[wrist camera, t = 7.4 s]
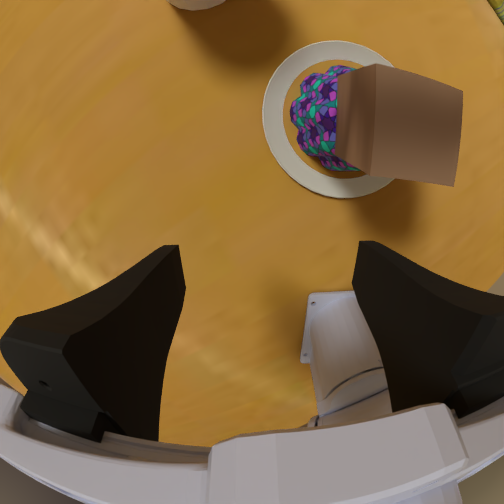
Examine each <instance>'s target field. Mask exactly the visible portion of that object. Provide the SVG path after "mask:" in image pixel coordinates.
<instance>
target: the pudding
mask: <svg viewBox="0 0 504 504" xmlns="http://www.w3.org/2000/svg"><path fill="white" fill-rule="evenodd" d="M335 59H341V60H349V61H352V62H356V63H359V64H361V65H363V66H369V65H372V64H375V63H377V64H382V65H386V66H390V67H393V68H394V66H393V65H392V64H391V63H390V62H389V61H387V60H386V59H385V58H383V57H382V56H381V55H379V54H378V53H376V52H374V51H372V50H371V49H369V48H367V47H364V46H361V45H358V44H355V43H352V42H345V41H322V42H318V43H314V44H310V45H308V46H305V47H303V48H301V49H299V50H297V51H296V52H294V53H293V54H291V55H290V56H289V57H287V58H286V59H285V60H284V61H283V62H282V63H281V64H280V66H279V67H278V68H277V69H276V71H275V72H274V74H273V76H272V77H271V79H270V81H269V83H268V86H267V89H266V92H265V94H264V100H263V107H262V117H263V127H264V132H265V136H266V140H267V142H268V144H269V147H270V149H271V152H272V153H273V155H274V157H275V158H276V160H277V161H278V163H279V165H280V166H281V167H282V168H283V169H284V170H285V171H286V172H287V174H288V175H289V176H291V177H292V178H293V179H294V180H296V181H297V182H298V183H299V184H301V185H302V186H304V187H306V188H308V189H310V190H311V191H314V192H316V193H319V194H322V195H325V196H330V197H336V198H354V197H360V196H365V195H368V194H370V193H373V192H376V191H378V190H379V189H381V188H383V187H385V186H386V185H387V184H389V183H390V182H391V181H392V180H394V179H395V178H386V177H377V176H369V175H368V174H367V175H364V176H361V177H357V178H351V179H339V178H334V177H329V176H326V175H324V174H321V173H319V172H317V171H315V170H314V169H312V168H310V167H309V166H308V165H307V164H305V163H304V162H303V161H302V160H301V159H300V158H299V157H298V155H297V154H296V153H295V152H294V150H293V148H292V147H291V145H290V144H289V141H288V139H287V136H286V134H285V130H284V125H283V105H284V99H285V97H286V94H287V91H288V89H289V87H290V86H291V84H292V82H293V81H294V80H295V78H296V77H297V76H298V75H299V74H300V73H301V72H303V71H304V70H305V69H307V68H308V67H310V66H312V65H314V64H316V63H318V62H322V61H326V60H335ZM353 70H356V69H354V68H350V67H346V66H342V65H338V66H332V67H330V68H329V70H328V71H327V72H326V73H325V74H319V73H313V74H311V75H309V76H307V77H306V78H305V79H304V81H303V82H302V84H301V85H300V88H301V96H300V97H299V98H297V99H296V100H295V101H293V102H292V105H291V109H290V117H291V121H292V122H293V123H294V125H295V126H296V127H297V128H298V129H299V131H298V135H297V142H298V144H299V146H300V148H301V149H302V150H303V151H304V152H305V153H306V154H307V155H310V156H316V157H319V159H320V161H321V163H322V165H323V166H324V167H326V168H327V169H329V170H331V171H361V170H360V169H358V168H356V167H355V166H353V165H351V164H350V163H348V162H346V161H344V160H343V159H341V158H339V157H337V156H336V155H334V154H335V138H336V118H337V76H339V75H342V74H345V73H348V72H350V71H353Z"/></svg>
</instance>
